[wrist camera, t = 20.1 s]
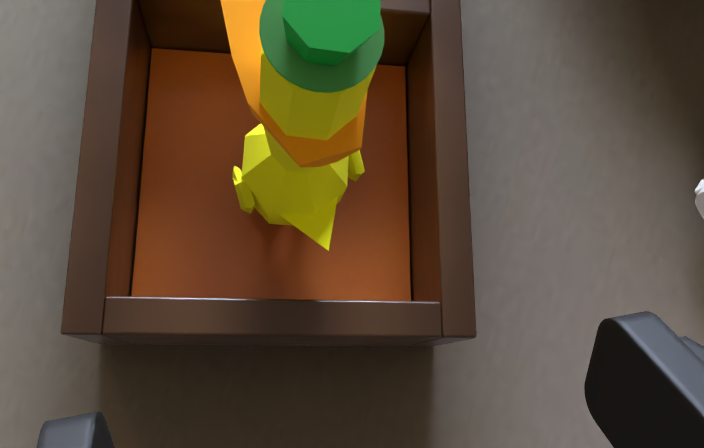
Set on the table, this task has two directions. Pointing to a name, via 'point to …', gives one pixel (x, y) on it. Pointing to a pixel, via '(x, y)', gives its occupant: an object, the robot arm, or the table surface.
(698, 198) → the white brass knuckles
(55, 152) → the table surface
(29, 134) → the table surface
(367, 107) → the divided wooden tray
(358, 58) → the toy figure
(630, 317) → the robot arm
